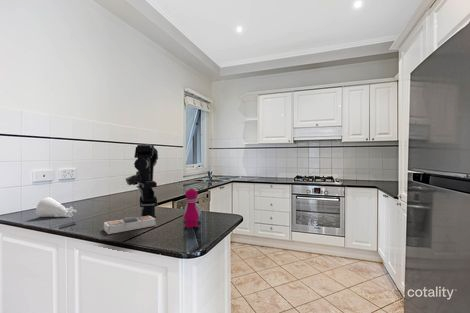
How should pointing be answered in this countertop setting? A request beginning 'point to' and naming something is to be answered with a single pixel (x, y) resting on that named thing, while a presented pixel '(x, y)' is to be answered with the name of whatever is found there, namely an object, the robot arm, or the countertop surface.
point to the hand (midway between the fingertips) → (144, 200)
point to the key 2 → (144, 218)
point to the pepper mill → (191, 208)
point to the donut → (196, 209)
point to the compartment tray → (129, 225)
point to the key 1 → (114, 223)
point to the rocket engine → (52, 209)
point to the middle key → (130, 219)
